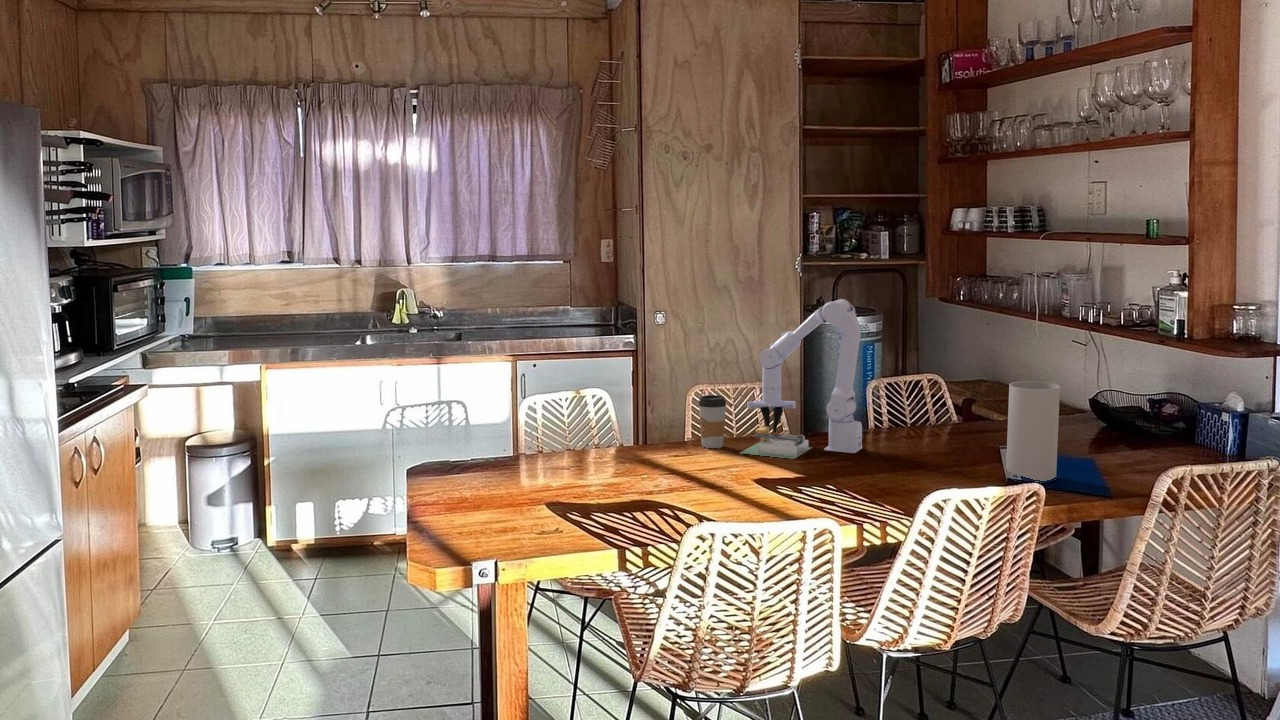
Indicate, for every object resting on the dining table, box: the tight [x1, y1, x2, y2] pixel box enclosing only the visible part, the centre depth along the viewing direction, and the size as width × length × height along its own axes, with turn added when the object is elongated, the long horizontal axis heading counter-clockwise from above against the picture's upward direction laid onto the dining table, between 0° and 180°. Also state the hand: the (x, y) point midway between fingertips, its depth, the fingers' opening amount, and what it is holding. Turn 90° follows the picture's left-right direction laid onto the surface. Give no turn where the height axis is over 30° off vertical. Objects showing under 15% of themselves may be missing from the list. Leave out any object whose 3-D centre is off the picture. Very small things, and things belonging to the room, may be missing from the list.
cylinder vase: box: [1005, 381, 1061, 483], centre depth 304 cm, size 12×12×25 cm
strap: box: [753, 432, 802, 442], centre depth 339 cm, size 14×3×1 cm, turn 63°
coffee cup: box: [698, 394, 727, 449], centre depth 347 cm, size 8×8×15 cm
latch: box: [754, 425, 770, 442], centre depth 346 cm, size 2×5×6 cm, turn 153°
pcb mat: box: [738, 442, 814, 460], centre depth 341 cm, size 17×16×1 cm
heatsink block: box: [757, 433, 809, 458], centre depth 339 cm, size 12×10×5 cm
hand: (771, 431), depth 353 cm, fingers closed
